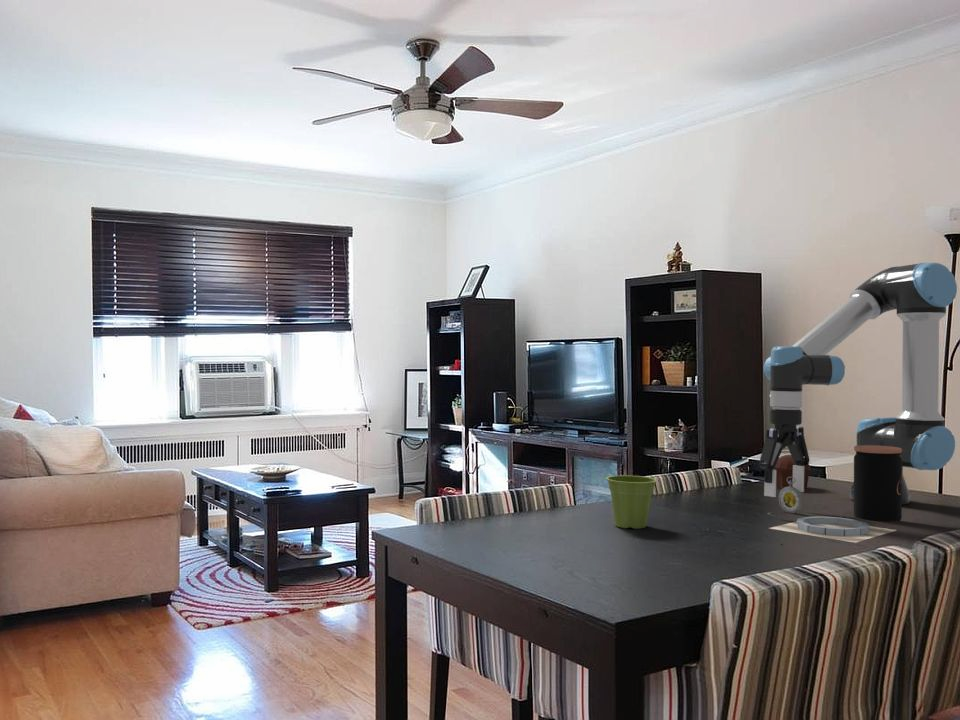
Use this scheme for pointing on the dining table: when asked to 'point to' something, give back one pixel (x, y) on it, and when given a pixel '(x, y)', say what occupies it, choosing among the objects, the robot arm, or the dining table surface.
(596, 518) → the dining table surface
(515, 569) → the dining table surface
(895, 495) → the coffee jar
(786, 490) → the pocket watch
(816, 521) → the slate ring
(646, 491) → the plant pot
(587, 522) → the dining table surface
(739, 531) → the dining table surface
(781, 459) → the muffin
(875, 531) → the ash board
